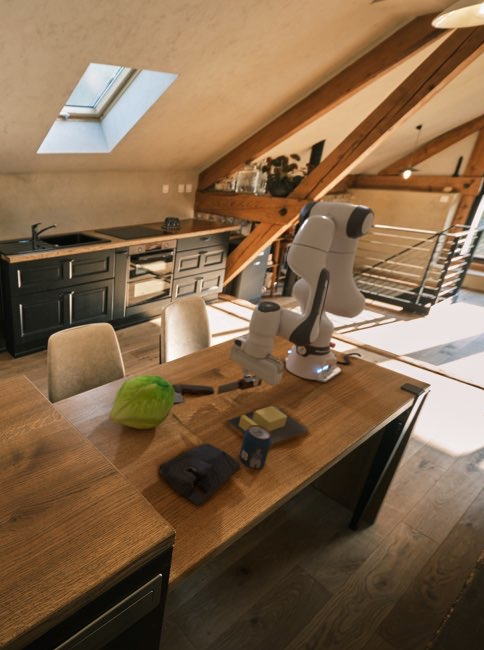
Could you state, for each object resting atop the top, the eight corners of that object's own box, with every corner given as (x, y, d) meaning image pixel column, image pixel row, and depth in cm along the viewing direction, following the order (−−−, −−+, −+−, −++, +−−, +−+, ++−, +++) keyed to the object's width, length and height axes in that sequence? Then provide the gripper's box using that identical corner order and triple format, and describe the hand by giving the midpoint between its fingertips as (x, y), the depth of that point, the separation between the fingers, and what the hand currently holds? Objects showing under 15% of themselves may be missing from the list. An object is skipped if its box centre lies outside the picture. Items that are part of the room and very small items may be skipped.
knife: (255, 381, 139) (257, 373, 138) (260, 385, 137) (262, 377, 136) (214, 392, 132) (216, 383, 131) (219, 396, 130) (221, 387, 129)
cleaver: (209, 387, 148) (210, 382, 147) (219, 402, 139) (220, 397, 138) (134, 389, 145) (134, 384, 145) (140, 405, 137) (140, 400, 136)
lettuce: (105, 441, 127) (88, 392, 128) (163, 411, 138) (146, 366, 139) (135, 448, 110) (115, 392, 111) (197, 413, 121) (179, 362, 122)
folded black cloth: (248, 475, 108) (251, 462, 106) (194, 510, 97) (196, 496, 95) (206, 442, 120) (208, 430, 118) (153, 469, 109) (155, 457, 107)
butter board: (272, 408, 137) (276, 395, 135) (308, 433, 125) (312, 420, 123) (225, 423, 128) (228, 410, 126) (258, 452, 117) (262, 438, 114)
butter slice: (242, 424, 126) (244, 414, 125) (256, 436, 121) (259, 426, 120) (238, 425, 125) (240, 415, 124) (253, 437, 120) (255, 427, 119)
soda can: (251, 452, 116) (259, 421, 112) (268, 469, 110) (278, 437, 106) (233, 458, 114) (240, 426, 109) (249, 475, 108) (258, 442, 103)
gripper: (291, 360, 123) (280, 396, 129) (242, 334, 140) (235, 366, 146) (277, 364, 121) (267, 400, 126) (229, 336, 138) (223, 369, 143)
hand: (250, 381), depth 136 cm, fingers closed on knife, 2 cm apart
